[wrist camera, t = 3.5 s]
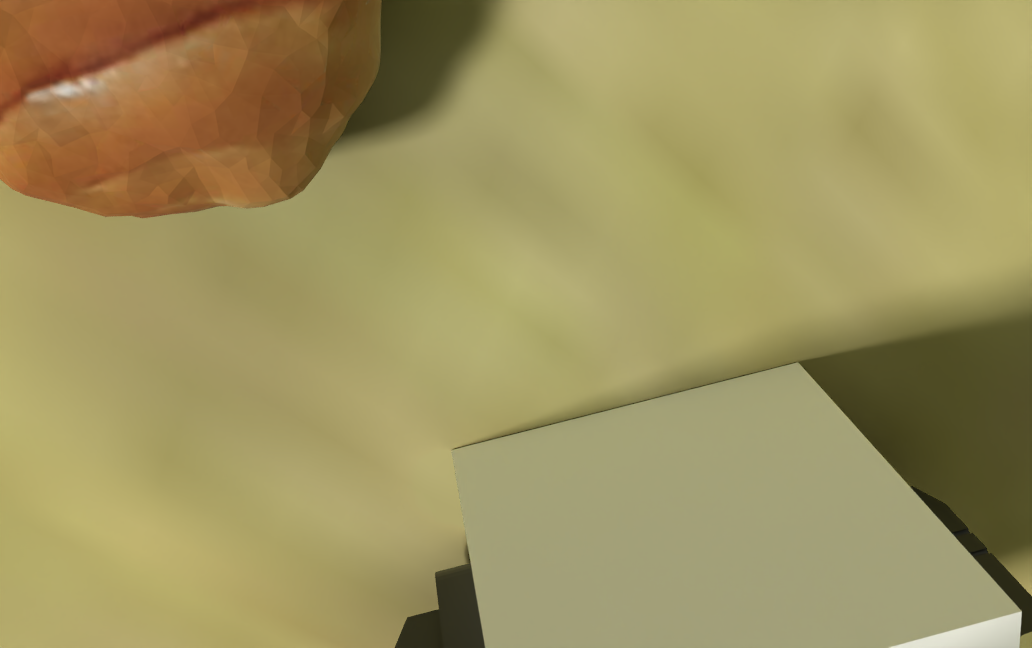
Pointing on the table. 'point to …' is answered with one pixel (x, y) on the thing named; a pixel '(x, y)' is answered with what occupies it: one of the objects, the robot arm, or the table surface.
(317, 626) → the table surface
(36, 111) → the pastry
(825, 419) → the cube
